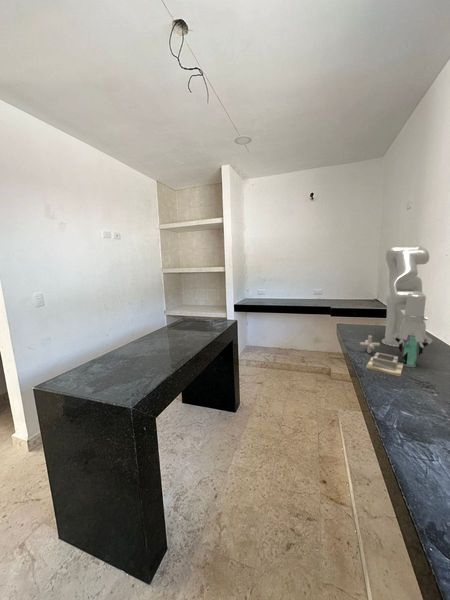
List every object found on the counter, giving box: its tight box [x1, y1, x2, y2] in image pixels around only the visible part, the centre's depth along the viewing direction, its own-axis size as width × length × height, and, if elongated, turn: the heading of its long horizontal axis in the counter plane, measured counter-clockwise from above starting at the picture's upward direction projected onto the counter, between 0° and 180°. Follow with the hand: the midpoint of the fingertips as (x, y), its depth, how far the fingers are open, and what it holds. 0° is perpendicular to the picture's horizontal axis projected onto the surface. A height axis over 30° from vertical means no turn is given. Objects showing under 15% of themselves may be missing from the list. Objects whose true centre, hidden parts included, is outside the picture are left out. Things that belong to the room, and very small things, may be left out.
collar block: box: [365, 352, 405, 377], centre depth 122 cm, size 14×14×5 cm
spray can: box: [401, 333, 419, 368], centre depth 122 cm, size 6×6×20 cm
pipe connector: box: [359, 334, 381, 354], centre depth 140 cm, size 10×10×10 cm
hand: (410, 352), depth 123 cm, fingers open, 6 cm apart
